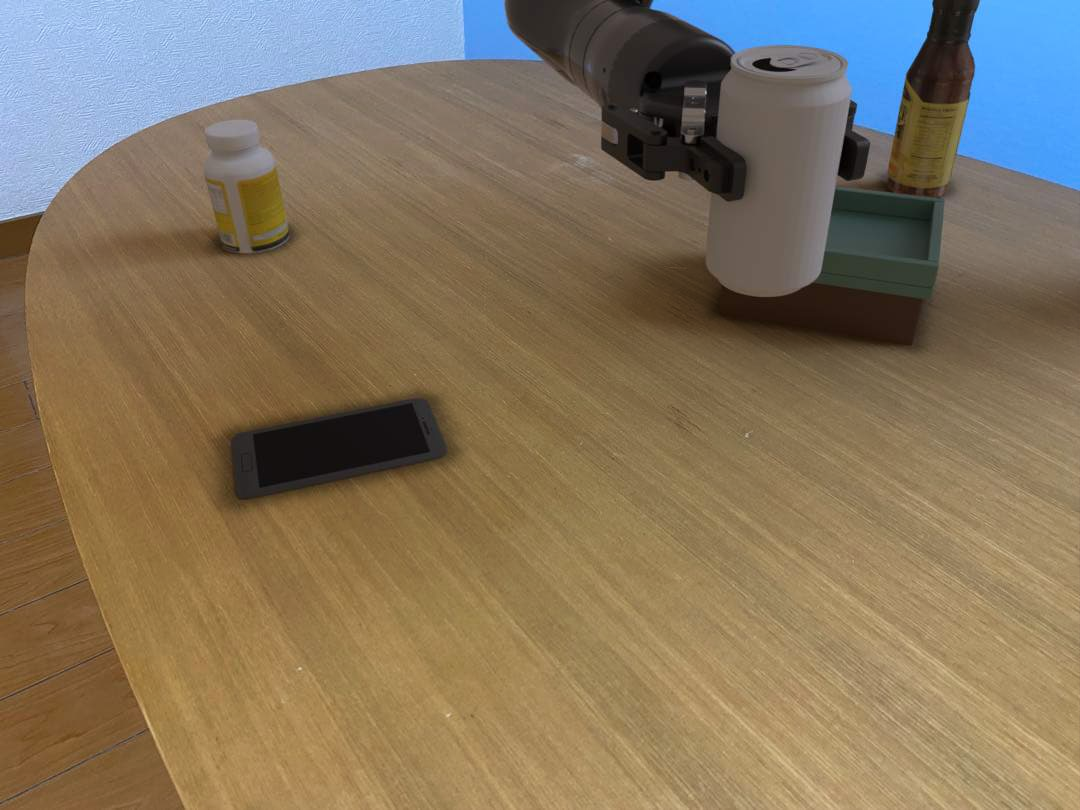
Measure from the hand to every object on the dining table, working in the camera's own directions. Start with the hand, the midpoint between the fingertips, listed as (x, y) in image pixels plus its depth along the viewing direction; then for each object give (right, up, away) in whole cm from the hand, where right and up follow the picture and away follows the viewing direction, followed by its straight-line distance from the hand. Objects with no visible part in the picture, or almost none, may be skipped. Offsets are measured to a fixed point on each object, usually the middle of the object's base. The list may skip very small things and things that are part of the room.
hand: (801, 172), depth 47 cm
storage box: (+11, -3, +33) cm, 34 cm away
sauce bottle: (+26, +10, +51) cm, 58 cm away
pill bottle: (-41, +4, +44) cm, 60 cm away
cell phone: (-27, -15, +17) cm, 35 cm away
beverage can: (-1, -5, +6) cm, 8 cm away
